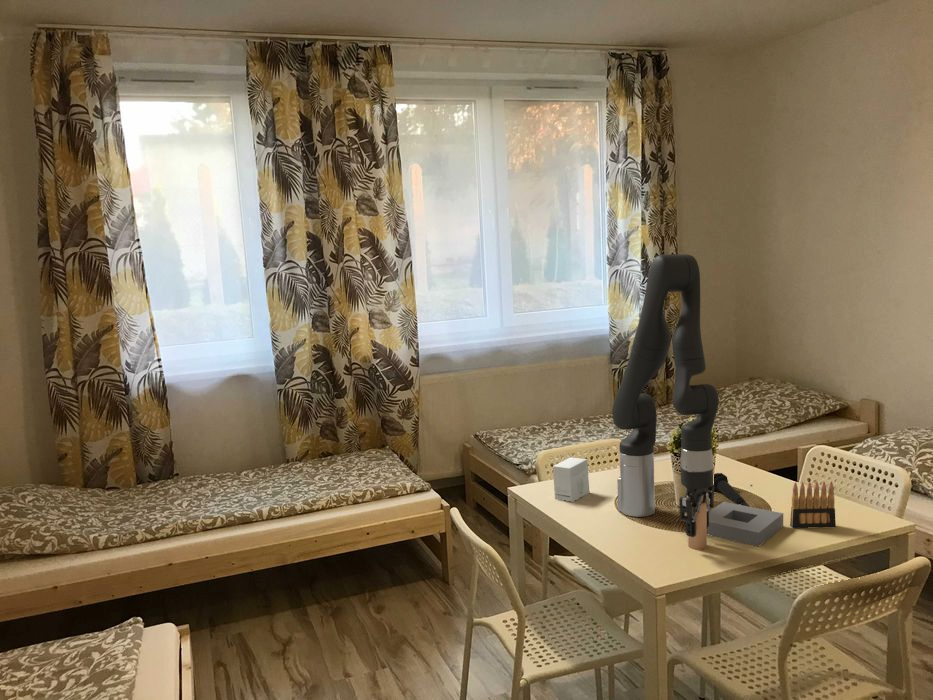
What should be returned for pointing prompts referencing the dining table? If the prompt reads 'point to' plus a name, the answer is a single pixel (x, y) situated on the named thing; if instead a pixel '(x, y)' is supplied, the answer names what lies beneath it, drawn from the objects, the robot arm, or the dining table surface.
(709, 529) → the socket block
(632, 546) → the dining table surface
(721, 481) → the microphone
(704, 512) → the peg
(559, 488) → the skincare box
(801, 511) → the ammunition clip
